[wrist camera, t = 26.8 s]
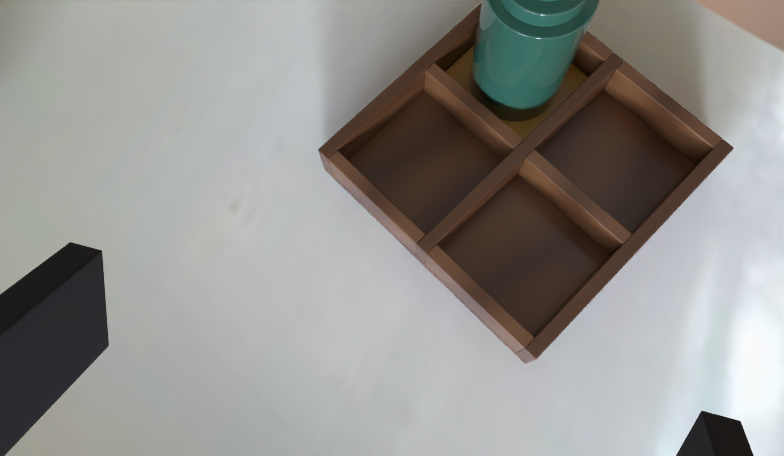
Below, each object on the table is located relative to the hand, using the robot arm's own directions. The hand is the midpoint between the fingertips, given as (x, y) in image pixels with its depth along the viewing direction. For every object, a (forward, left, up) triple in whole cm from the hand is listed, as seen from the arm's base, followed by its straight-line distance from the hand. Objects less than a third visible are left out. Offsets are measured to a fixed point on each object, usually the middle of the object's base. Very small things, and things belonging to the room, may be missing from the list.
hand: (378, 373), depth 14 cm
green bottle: (-8, +19, -21) cm, 30 cm away
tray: (-5, +15, -22) cm, 27 cm away
